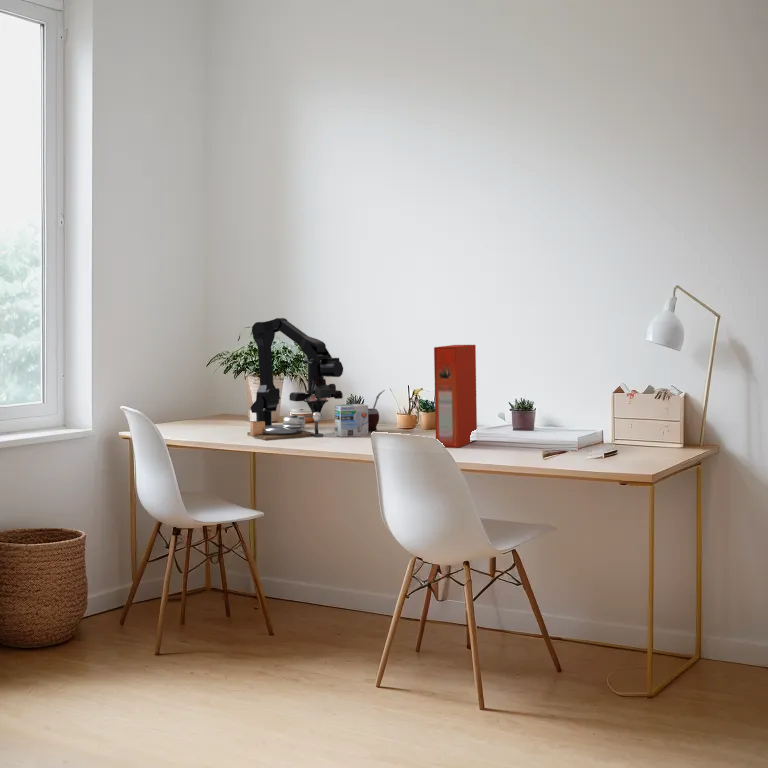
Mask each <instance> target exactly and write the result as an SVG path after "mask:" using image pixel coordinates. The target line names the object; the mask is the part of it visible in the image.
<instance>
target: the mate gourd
mask: <svg viewBox="0 0 768 768" xmlns="http://www.w3.org/2000/svg"><path fill="white" fill-rule="evenodd" d="M385 391H386V390H385V389H383V390H382V391H380V392H379V393H378V394H377V395H376V398H375V402H374V404H373V407H372V408H368V433H369V432H371V433H373V432H372V431H375V432H376V431H378V429H377V426H378V424H379V422H380V414H379V411H378V409H377V408H376V405H377V404H378V403H377V402H378V400H379V398H380V396H381V395H382V394H383V393H384V392H385Z"/></svg>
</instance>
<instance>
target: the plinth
mask: <svg viewBox="0 0 768 768" xmlns="http://www.w3.org/2000/svg"><path fill="white" fill-rule="evenodd" d="M311 433H314V432H312V431H308V430H305V429H302V433H298V434H290V435H265V434H259V435H252V434H251V431H249V432H247V436H249V437H252V438H256V439H258V440H259V439H260V440H263V441H271V440H272V441H273V440H274V441H275V440H284V439H295V438H296V437H298V438H306V437H307V438H309V437H312V436H311ZM296 439H297V438H296Z"/></svg>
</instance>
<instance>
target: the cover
mask: <svg viewBox="0 0 768 768" xmlns="http://www.w3.org/2000/svg"><path fill="white" fill-rule="evenodd" d="M305 419H306V417H304V415H301V416H300V415H298V414H297V415H296V414H291V415H288V416H283V417H282V424H281V425H282V427H287V428H296V427H302V428H303V427H306V426H307V425H306V422H305Z"/></svg>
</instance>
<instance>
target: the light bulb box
mask: <svg viewBox="0 0 768 768" xmlns="http://www.w3.org/2000/svg"><path fill="white" fill-rule="evenodd" d="M368 409H369V405H367V404H364V403H351V404H350V403H347V404H335V405H334V434H335V436H338V437H340V438H344V437H345V438H347V437H362V436H363V437H364V436H369V432H368Z"/></svg>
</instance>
